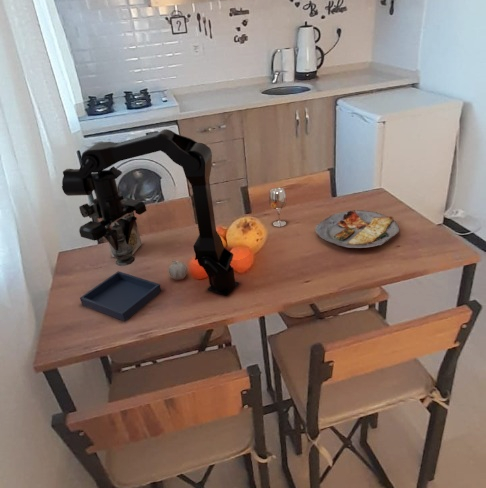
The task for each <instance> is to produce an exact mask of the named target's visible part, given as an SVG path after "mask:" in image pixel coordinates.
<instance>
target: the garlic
mask: <svg viewBox="0 0 486 488" xmlns="http://www.w3.org/2000/svg"><path fill="white" fill-rule="evenodd" d="M171 262H172V263H171V265H170V266H169V267H168V275H169V276H170V277H171V279H173V280H184V279H185V277H186V276H187V275H188V271H189V269H188V265H187V264H185V263H184V262H182V261H177V260H171Z"/></svg>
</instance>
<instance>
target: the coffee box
mask: <svg viewBox="0 0 486 488" xmlns="http://www.w3.org/2000/svg"><path fill="white" fill-rule="evenodd" d="M126 201H127V200H124V199H123V200H121V203H122V204H123V203H124V202H126ZM132 215H133V217H136V216H135V211H133V212H132ZM102 220H103V219H102V218H101V221H102ZM114 223H117V221H116V222H114ZM114 223H113V224H111V226H113V225H115V224H114ZM117 225H119V224H118V223H117ZM107 242H108V241H107ZM128 244H129V245H132V246H133V253H132V255H131V256H133V255H134V254H135V253H136V252H137V251H138V249H139V248H140V247H141V246H142V245H143V244H142V239H141V236H140V231H139V227H138V223H137V220H135V222H134V225H133V228H132V232H131V235H130V239H129V243H128ZM108 246H109V250H110V253H111V256H112V258H115V257H114V255H113V254H112V250H113V249H114V248H113V247H112V246H111V245H110V243H109V242H108Z"/></svg>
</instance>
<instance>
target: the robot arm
mask: <svg viewBox="0 0 486 488" xmlns="http://www.w3.org/2000/svg"><path fill="white" fill-rule="evenodd" d="M157 152H162V153H164V154H165V155H166V156H167V157H168V158H170V160H171V161H172V162H173V163H175V164H176V165H178V166H180V167H181V168H182V170H183V173H184V176H185V178H186V180H187V181H188V183H189V184H190V186H191V189H192V197H193V203H194V209H195V216H196V223H197V228H198V233H199V235H198V236H197V238H196V240H195V242H194V244H193V246H192V248H193V252H194V254H195V257H194V260H195V261H197V263H198V265H199V267H201V268H203V270H204V271H205V274H206V275H207V277H208V282H209V286H208V287H207V291H208V292H211V293H214V294H217V295H221V296H224V297H227V296H229V294H231V292H233V291H234V290H235V289H236V288H237V287H238V286H239V285H240V283H239V282H240V281H236V278H235V271H234V269H235V268H234V267H232V265H231V263H232V261H233V258H234V253H233V252H231V250H229V249H228V248H226V247H225V246H224V242H223V239H222V237H221V235H220V234H219V232H218V231H217V226H216V218H215V211H214V203H213V198H212V190H211V183H210V178H211V171H212V164H213V163H212V160H213V152H212V149H211V148H210V146H208V145H207V144H205V143H204V142H198V141H195V140H194V139H192V138H190V137H187V136H184V135H181V134H179V133H176V132H174V131H172V130H171V129H161V130H159V131H158V132H154V133H150V134H146V135H143V136H139V137H135V138H132V139H128V140H123V141H120V142H119V141H118V142H113V141H100V142H96V143H94V144H93V145H91V146H90V147H89V148H87V149H86V150H84V151H83V152H82V153H81V164H80V167H79V168H66V169H64V170H63V171H62V175H63V177H62V181H61V182H62V183H61V189H62V191H63V193H64V194H65V195H66V196H67V197H71V196H72V197H75V196H77V197H78V196H90V195H92V193H93V191H94V195H95V198H94V199H93V202H92V203H91V204H89V203H84V204H81V205H79V206H78V208H79V212H80V214H81V216H82V217H83V218H89V219H92V218H93V217H95V218H96V219H99V220H100V219H101V221H99V222H97V221H93V220H90V221H88V222H86V223H84V224H82V225H81V226H79V229H78V232H79V235H80V237H81V238H84V239H87V240H90V241H98V240H100V239H103V238H105V239H106V241H107V242H109V243H110V245H111V246H112V247H113V248H114V250H116V251H117V250H118V239H117V231H116V230H114V229H112V226H111V224H113V223H114V222H116V221H117V223H118V224H119V225H121V226H122V229H123V233H124V235H125V236H126V238H125V239H126V243H127V244H128V243H129V239H130V235H131V232H132V228H133V225H134V222H135V220H136V221H137V220H138V218H137V216H135V217H133V215H132V212H133V211H134V213H135V214H137V215H138V216H141V215H142V214H144V213H145V212H147V210H148V209H147V206H146V204H145V202H144V201H142V200H138V199H133V198H130V199H128V200H125V201H126V202H124V203H123V204H122V203H121V200H124V195H123V194H120V192H119V189H118V185H117V179H118V178H119V177H120V176H121V175H122V174H123V172H122V171H121V170H120V169H118V168H116V167H115V166H113V165H115V164H117V163H119V162H121V161H126V160H129V159H134V158H137V157H141V156H145V155H149V154H153V153H157ZM108 168H109V169H108ZM102 219H103V220H102ZM109 243H108V244H109Z"/></svg>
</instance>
